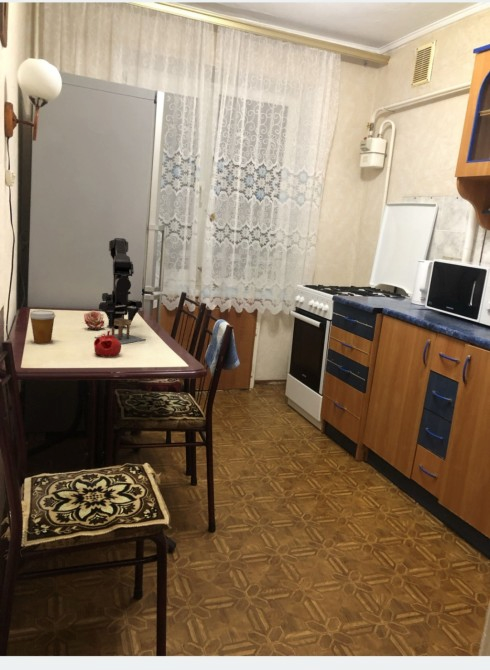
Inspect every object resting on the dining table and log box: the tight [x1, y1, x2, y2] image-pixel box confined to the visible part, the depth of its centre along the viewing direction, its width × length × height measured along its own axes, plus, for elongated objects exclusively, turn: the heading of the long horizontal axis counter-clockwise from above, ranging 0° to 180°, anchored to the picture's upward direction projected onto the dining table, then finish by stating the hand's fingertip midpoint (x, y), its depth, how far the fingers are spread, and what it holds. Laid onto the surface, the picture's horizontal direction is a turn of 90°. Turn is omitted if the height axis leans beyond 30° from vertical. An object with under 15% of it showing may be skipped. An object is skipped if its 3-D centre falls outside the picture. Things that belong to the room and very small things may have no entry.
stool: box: [110, 317, 132, 340], centre depth 215 cm, size 6×6×8 cm
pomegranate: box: [93, 330, 122, 358], centre depth 190 cm, size 10×10×9 cm
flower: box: [81, 310, 105, 331], centre depth 232 cm, size 10×9×8 cm
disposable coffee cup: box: [29, 309, 56, 345], centre depth 201 cm, size 10×10×12 cm
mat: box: [94, 332, 146, 345], centre depth 216 cm, size 15×15×1 cm
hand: (120, 325), depth 215 cm, fingers open, 9 cm apart
